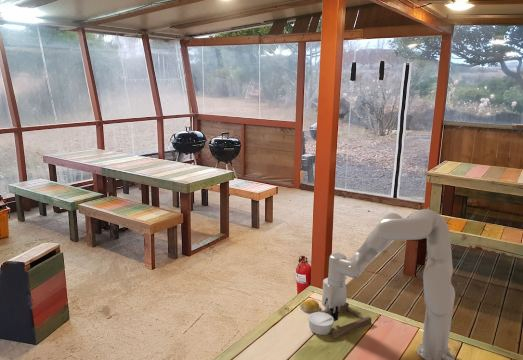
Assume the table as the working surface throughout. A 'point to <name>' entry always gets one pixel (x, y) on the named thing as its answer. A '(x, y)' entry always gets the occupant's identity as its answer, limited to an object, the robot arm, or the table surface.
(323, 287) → the cup
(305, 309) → the bread roll
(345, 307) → the walnut open-sided frame
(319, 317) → the ramekin
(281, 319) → the table surface
